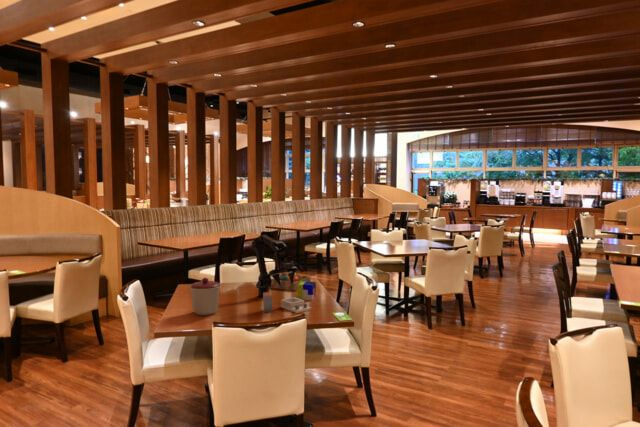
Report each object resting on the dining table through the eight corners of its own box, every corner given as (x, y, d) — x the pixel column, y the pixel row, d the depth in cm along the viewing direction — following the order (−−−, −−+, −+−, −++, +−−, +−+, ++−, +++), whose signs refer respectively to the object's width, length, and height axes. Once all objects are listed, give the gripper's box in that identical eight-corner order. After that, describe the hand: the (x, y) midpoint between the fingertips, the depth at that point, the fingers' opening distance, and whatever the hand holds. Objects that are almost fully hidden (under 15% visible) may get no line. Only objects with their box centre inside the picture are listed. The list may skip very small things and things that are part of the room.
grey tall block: (263, 309, 269) (263, 292, 268) (271, 309, 270) (271, 291, 269) (263, 312, 264) (263, 294, 263) (272, 311, 265) (272, 293, 264)
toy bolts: (307, 285, 336) (307, 269, 335) (294, 289, 321) (294, 272, 321) (288, 282, 346) (288, 266, 345) (274, 286, 331) (274, 270, 330)
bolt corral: (269, 287, 327) (269, 279, 326) (284, 281, 348) (284, 273, 348) (296, 290, 318) (296, 282, 317) (310, 284, 339) (310, 276, 339)
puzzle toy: (312, 300, 293) (312, 285, 292) (297, 299, 295) (297, 284, 294) (315, 296, 303) (315, 282, 302) (301, 295, 305) (301, 281, 304)
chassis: (280, 306, 276) (280, 299, 276) (294, 303, 283) (294, 297, 282) (296, 313, 263) (296, 305, 263) (310, 309, 270) (311, 302, 270)
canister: (222, 316, 255) (222, 280, 254) (189, 318, 250) (189, 281, 249) (220, 307, 273) (219, 274, 271) (189, 309, 268) (189, 275, 266)
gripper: (275, 258, 270) (280, 283, 267) (299, 255, 282) (305, 279, 278) (266, 263, 279) (271, 287, 275) (290, 260, 290) (295, 283, 287)
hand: (286, 284), depth 278 cm, fingers open, 9 cm apart
